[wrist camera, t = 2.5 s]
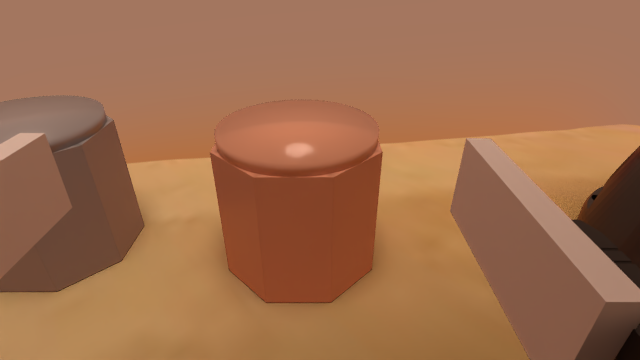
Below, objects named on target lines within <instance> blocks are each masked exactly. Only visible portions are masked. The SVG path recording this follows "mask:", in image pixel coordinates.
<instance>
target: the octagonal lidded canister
mask: <svg viewBox="0 0 640 360" xmlns="http://www.w3.org/2000/svg"><path fill="white" fill-rule="evenodd" d="M214 135H215V142H216V143H215V145H214V146H213V148H212V150H211V152H210V155H211V162H212V168H213V174H214V180H215V186H216V192H217V198H218V205H219V211H220V217H221V223H222V229H223V235H224V242H225V248H226V254H227V260H228V266H229V270H230V271H231V272H232V273H233V274H234V275H236V276H237V277H238V278H239V279H240V280H241V281H242V282H243V283H245V284H246V285H247V286H248V287H249V288H250V289H251V290H253V291H254V292H255V293H256V294H257V295H258V296H259V297H260V298H262V299H263V300H264V301H265V302H266V303H267V302H332V301H333V300H334V299H336V298H337V297H338V296H339V295H341V294H342V293H343V292H344V291H346V290H347V289H348V288H349V287H350V286H352V285H353V284H354V283H355V282H357V281H358V280H359V279H360V278H362V277H363V276H364V275H365V274H366V273H368V272H369V271H370V270H371V269H372V260H373V249H374V239H375V228H376V217H377V206H378V196H379V185H380V174H381V163H382V153H383V152H382V150H381V147H380V144H379V141H378V138H379V126H378V124H377V122H376V121H375V120H374V119H373V118H372V117H371V116H370V115H369V114H367V113H365V112H363V111H361V110H359V109H357V108H354V107H351V106H348V105H343V104H339V103H335V102H328V101H319V100H282V101H273V102H266V103H261V104H257V105H253V106H249V107H246V108H243V109H241V110H238V111H235V112H233V113H231V114H229V115H228V116H226V117H225V118H223V119H222V120H221V121H220V122H219V123H218V125H217V126H216V129H215V133H214Z"/></svg>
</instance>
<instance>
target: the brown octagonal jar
mask: <svg viewBox="0 0 640 360" xmlns="http://www.w3.org/2000/svg"><path fill="white" fill-rule="evenodd" d="M19 133H45V135H46V138H47V140H48V143H49V146H50V148H51V151H52V154H53V157H54V159H55V162H56V165H57V167H58V170H59V173H60V175H61V178H62V181H63V184H64V186H65V189H66V192H67V194H68V197H69V200H70V203H71V205H72V208H71V209H70V210H69V211H68V212H67V213H66V214H65V215H64V216H63V217H62V218H61V219H60V220H59V221H58V222H57V223H56V224H55V225H54V226H53V227H52V228H51V229H50V230H49V231H48V232H47V233H46V234H45V235H44V236H43V237H42V238H41V239H40V240H39V241H38V242H37V243H36V244H35V245H34V246H33V247H32V248H31V249H30V250H29V251H28V252H27V253H26V254H25V255H24V256H23V257H22V258H21V259H20V260H19V261H18V262H17V263H16V264H15V265H14V266H13V267H12V268H11V269H10V270H9V271H8V272H7V273H6V274H5V275H4V276H3V277H2V278H1V279H0V292H36V291H59V290H61V289H63V288H65V287H67V286H70V285H72V284H74V283H76V282H78V281H80V280H82V279H84V278H86V277H88V276H90V275H93V274H95V273H97V272H99V271H101V270H103V269H105V268H107V267H109V266H111V265H113V264H116V263H118V262H120V261H122V259H123V258H124V256H125V255H126V253H127V252H128V250H129V248H130V247H131V245H132V244H133V242H134V241H135V239H136V238H137V236H138V235H139V233H140V231H141V230H142V228H143V227H144V223H143V219H142V216H141V213H140V209H139V206H138V202H137V199H136V195H135V192H134V188H133V185H132V182H131V178H130V175H129V171H128V168H127V164H126V161H125V158H124V154H123V151H122V147H121V144H120V140H119V137H118V134H117V130H116V127H115V124H114V120H113V119H111V118H110V117H108V116H107V115H106V114H105V111H104V107H103V105H102V104H101V103H100V102H98V101H96V100H94V99H91V98H86V97H79V96H42V97H32V98H23V99H16V100H9V101H4V102H0V144H1V143H3V142H5V141H7V140H8V139H10V138H12V137H14V136H16V135H17V134H19Z"/></svg>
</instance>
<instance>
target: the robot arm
mask: <svg viewBox="0 0 640 360" xmlns="http://www.w3.org/2000/svg"><path fill="white" fill-rule="evenodd" d="M71 208H72V205H71V203H70V200H69V197H68V194H67V192H66V189H65V186H64V184H63V181H62V178H61V175H60V173H59V170H58V167H57V165H56V162H55V159H54V157H53V154H52V151H51V148H50V146H49V143H48V140H47V138H46V135H45V133H19V134H17V135H16V136H14V137H12V138H10V139H8V140H7V141H5V142H3V143H1V144H0V279H1V278H2V277H3V276H4V275H5V274H6V273H7V272H8V271H9V270H10V269H11V268H12V267H13V266H14V265H15V264H16V263H17V262H18V261H19V260H20V259H21V258H22V257H23V256H24V255H25V254H26V253H27V252H28V251H29V250H30V249H31V248H32V247H33V246H34V245H35V244H36V243H37V242H38V241H39V240H40V239H41V238H42V237H43V236H44V235H45V234H46V233H47V232H48V231H49V230H50V229H51V228H52V227H53V226H54V225H55V224H56V223H57V222H58V221H59V220H60V219H61V218H62V217H63V216H64V215H65V214H66V213H67V212H68V211H69V210H70V209H71ZM450 212H451V213H452V215H453V217H454V219H455V221H456V223H457V225H458V227H459V228H460V230H461V232H462V234H463V236H464V238H465V240H466V241H467V243H468V245H469V247H470V249H471V251H472V253H473V254H474V256H475V258H476V260H477V262H478V264H479V266H480V267H481V269H482V271H483V273H484V275H485V277H486V279H487V281H488V282H489V284H490V286H491V288H492V290H493V292H494V294H495V295H496V297H497V299H498V301H499V303H500V305H501V307H502V308H503V310H504V312H505V314H506V316H507V318H508V320H509V322H510V323H511V325H512V327H513V329H514V331H515V333H516V335H517V336H518V338H519V340H520V342H521V344H522V346H523V348H524V349H525V351H526V353H527V355H528V357H529V359H530V360H640V146H639V147H638V148H637V149H636V150H635V151H634V152H633V153H632V154H631V155H630V156H629V157H628V158H627V159H626V160H625V161H624V162H623V163H622V164H621V166H620V167H619V168H618V169H617V170H616V171H615V172H614V173H613V174H612V176H611V177H610V178H609V179H608V181H607V182H606V183H605V185H604V186H603V187H601V188H599V189H597V190H596V191H594V192H593V193H592V194H591V195H590V196H589V197H588V198H587V200H586V201H585V203H584V204H583V207H582V209H581V211H580V214H579V216H578V218H577V220H571V219H570V218H569V217H568V216H567V215H566V214H565V213H564V212H563V211H562V210H561V209H560V208H559V207H558V206H557V205H556V204H555V203H554V202H553V201H552V200H551V199H550V198H549V197H548V196H547V195H546V194H545V193H544V192H543V191H542V190H541V189H540V188H539V187H538V186H537V185H536V184H535V183H534V182H533V181H532V180H531V179H530V178H529V177H528V176H527V175H526V174H525V173H524V172H523V171H522V170H521V169H520V168H519V167H518V166H517V165H516V164H515V163H514V162H513V161H512V160H511V159H510V158H509V157H508V156H507V155H506V154H505V153H504V152H503V151H502V150H501V149H500V148H499V147H498V146H497V144H496V143H495V142H494V141H493V140H492V139H482V138H466V142H465V147H464V151H463V156H462V160H461V165H460V169H459V174H458V178H457V183H456V187H455V192H454V196H453V201H452V205H451V210H450Z"/></svg>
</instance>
